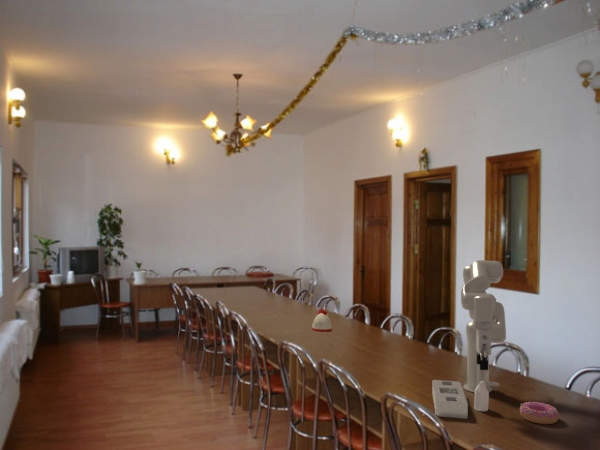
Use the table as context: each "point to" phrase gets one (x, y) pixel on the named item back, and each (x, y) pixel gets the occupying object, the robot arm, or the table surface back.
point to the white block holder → (449, 399)
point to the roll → (481, 397)
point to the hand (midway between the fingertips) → (482, 367)
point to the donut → (539, 412)
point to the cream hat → (321, 322)
